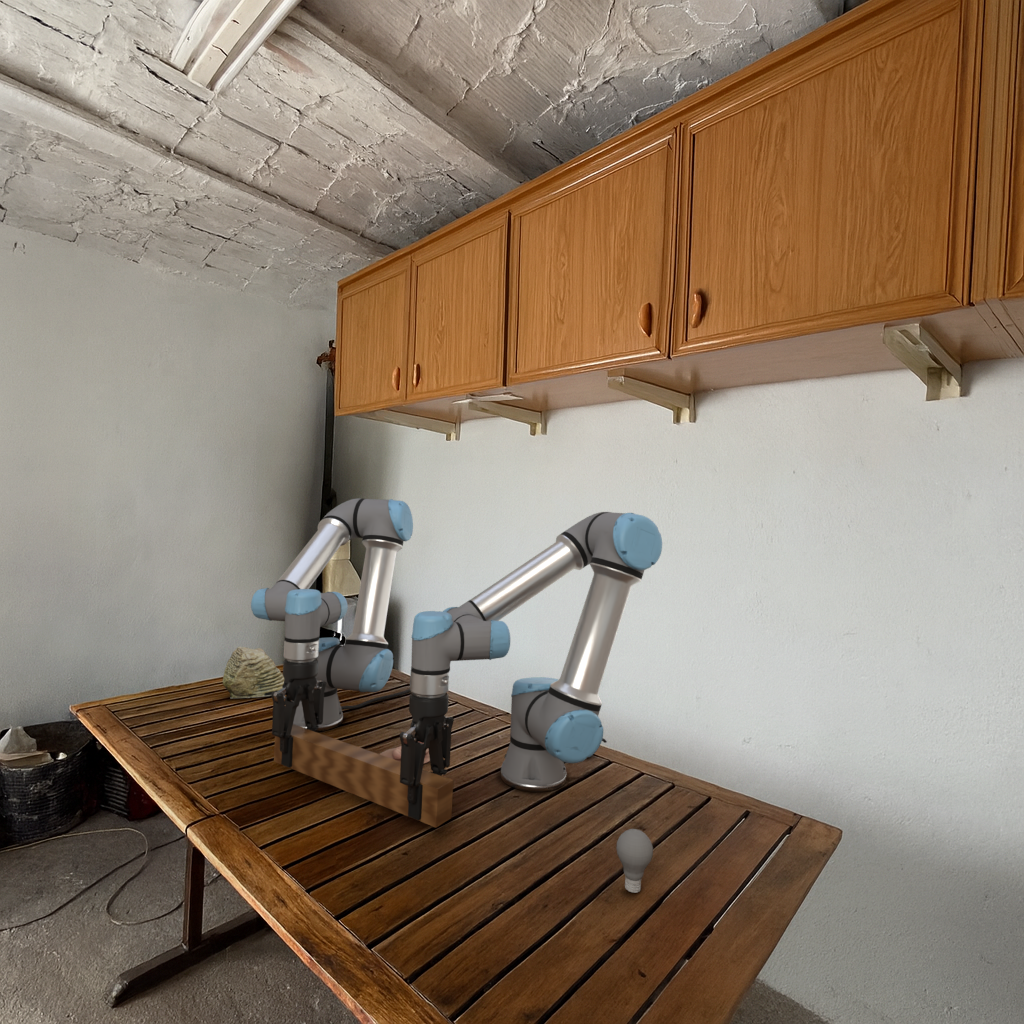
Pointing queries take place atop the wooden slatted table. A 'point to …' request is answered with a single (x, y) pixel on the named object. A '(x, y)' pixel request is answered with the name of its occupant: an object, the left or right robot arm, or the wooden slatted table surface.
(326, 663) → the left robot arm
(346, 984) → the wooden slatted table surface
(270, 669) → the fossil
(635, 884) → the light bulb
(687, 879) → the wooden slatted table surface
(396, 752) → the beige rounded piece
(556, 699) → the right robot arm
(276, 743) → the beam
